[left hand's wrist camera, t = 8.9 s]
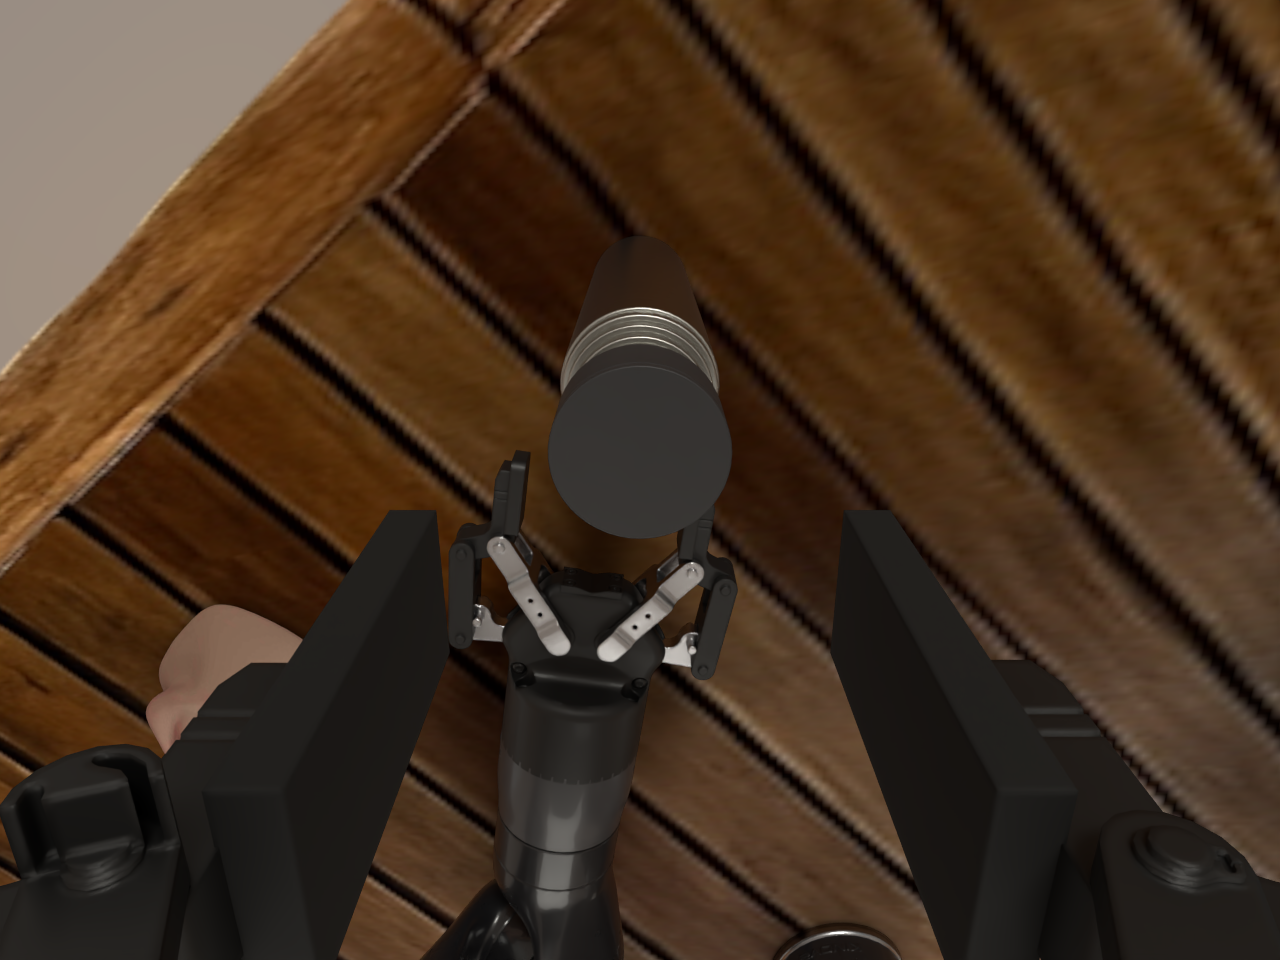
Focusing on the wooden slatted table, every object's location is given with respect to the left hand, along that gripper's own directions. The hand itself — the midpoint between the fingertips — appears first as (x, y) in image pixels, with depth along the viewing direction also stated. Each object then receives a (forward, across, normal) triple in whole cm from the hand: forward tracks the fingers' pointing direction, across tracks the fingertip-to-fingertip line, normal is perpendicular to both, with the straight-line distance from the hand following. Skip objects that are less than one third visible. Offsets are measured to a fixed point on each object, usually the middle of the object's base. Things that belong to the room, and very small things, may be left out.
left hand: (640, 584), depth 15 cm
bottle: (+32, 0, 0) cm, 32 cm away
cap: (+7, 0, 0) cm, 7 cm away
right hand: (+26, +2, +8) cm, 27 cm away
